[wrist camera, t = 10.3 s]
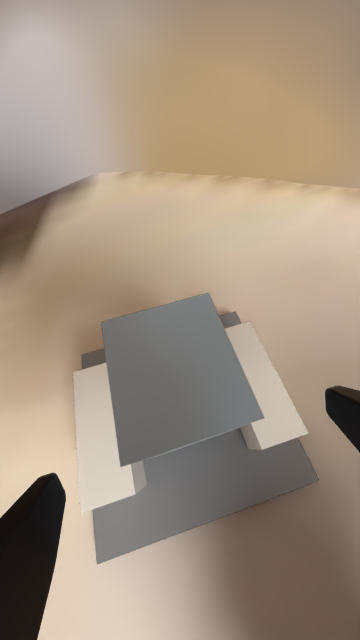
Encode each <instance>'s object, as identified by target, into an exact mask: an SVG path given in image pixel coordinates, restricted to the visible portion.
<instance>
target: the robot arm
mask: <svg viewBox="0 0 360 640" xmlns="http://www.w3.org/2000/svg"><path fill="white" fill-rule="evenodd" d="M325 401H326V411H327V413H328V415H329V417H330V418H331V419H332V420H333V421H334V423H335V424H336V425H337V426H338V427H339V428H340V430H341V431H342V432H343V433H344V434H345V436H346V437H347V438H348V439H349V440H350V441H351V443H352V444H353V445H354V446H355V447H356V448H357V450H358V451H359V452H360V391H358V390H354V389H350V388H346V387H342V386H334V387H331V388H328V389H326V391H325ZM65 502H66V494H65V490H64V488H63V486H62V484H61V482H60V480H59V478H58V476H57V474H55V473H50V474H46V475H43V476H41V477H39V478H38V479H37V480H36V481H35V482H34V483H33V484H32V485H31V486H30V487H29V488H28V489H27V490H26V491H25V493H24V494H23V495H22V496H21V497H20V498H19V499H18V500H17V501H16V502H15V503H14V504H13V505H12V506H11V507H10V508H9V509H8V511H7V512H6V513H5V514H4V515H3V516H2V517H1V518H0V640H37V638H38V634H39V630H40V626H41V622H42V618H43V614H44V609H45V605H46V601H47V597H48V593H49V589H50V585H51V581H52V577H53V572H54V568H55V562H56V557H57V551H58V545H59V539H60V533H61V526H62V520H63V514H64V508H65Z"/></svg>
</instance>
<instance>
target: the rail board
mask: <svg viewBox="0 0 360 640" xmlns="http://www.w3.org/2000/svg"><path fill="white" fill-rule="evenodd" d="M219 317H220V319H221V322H222V324H223V326H224V328H225V331H226V333H227V335H228V337H229V339H230V342H231V344H232V346H233V348H234V351H235V353H236V355H237V357H238V359H239V362H240V364H241V366H242V368H243V371H244V373H245V375H246V377H247V380H248V382H249V384H250V386H251V388H252V391H253V393H254V395H255V397H256V400H257V402H258V404H259V406H260V408H261V411H262V413H263V415H264V417H265V418H264V419H261V420H258V421H256V422H253V423H250V424H248V425H245V426H243V427H240V428H237V429H235V430H232V431H230V432H227V433H224V434H222V435H219V436H216V437H213V438H210V439H207V440H204V441H201V442H198V443H195V444H192V445H189V446H187V447H184V448H181V449H178V450H175V451H172V452H169V453H166V454H163V455H160V456H156V457H153V458H150V459H146V460H143V461H140V462H136V463H133V464H130V465H126V466H123V467H120V460H119V453H118V445H117V438H116V431H115V423H114V416H113V408H112V401H111V393H110V386H109V378H108V371H107V364H106V356H105V349H101V350H97V351H94V352H90V353H86V354H83V355H81V356H82V370H79V371H76V372H73V382H74V402H75V421H76V441H77V460H78V480H79V499H80V514H81V513H84V512H87V511H90V510H93V519H94V532H95V546H96V560H97V564H100V563H102V562H105V561H107V560H110V559H113V558H115V557H118V556H121V555H123V554H126V553H129V552H131V551H134V550H137V549H139V548H142V547H145V546H147V545H150V544H152V543H155V542H158V541H160V540H163V539H166V538H168V537H171V536H174V535H176V534H179V533H182V532H184V531H187V530H190V529H192V528H195V527H198V526H200V525H203V524H205V523H208V522H211V521H213V520H216V519H219V518H221V517H224V516H227V515H229V514H232V513H235V512H237V511H240V510H243V509H245V508H248V507H250V506H253V505H256V504H258V503H261V502H264V501H266V500H269V499H272V498H274V497H277V496H280V495H282V494H285V493H288V492H290V491H293V490H296V489H298V488H301V487H303V486H306V485H309V484H311V483H314V482H317V481H319V479H318V477H317V475H316V473H315V471H314V469H313V467H312V465H311V463H310V461H309V459H308V457H307V455H306V453H305V451H304V449H303V447H302V445H301V443H300V441H299V439H298V437H300V436H303V435H306V434H309V433H308V431H307V429H306V427H305V425H304V424H303V422H302V420H301V418H300V416H299V414H298V412H297V410H296V408H295V406H294V404H293V402H292V401H291V399H290V397H289V395H288V393H287V391H286V389H285V387H284V385H283V383H282V381H281V379H280V377H279V376H278V374H277V372H276V370H275V368H274V366H273V364H272V362H271V360H270V358H269V356H268V354H267V352H266V351H265V349H264V347H263V345H262V343H261V341H260V339H259V337H258V335H257V333H256V331H255V329H254V328H253V326H252V324H251V322H246V323H243V324H241V321H240V319H239V317H238V315H237V313H236V312H233V313H229V314H225V315H222V316H219Z"/></svg>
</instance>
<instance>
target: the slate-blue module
mask: <svg viewBox="0 0 360 640" xmlns="http://www.w3.org/2000/svg"><path fill="white" fill-rule="evenodd" d="M101 326H102V334H103V341H104V349H105V356H106V364H107V371H108V378H109V386H110V393H111V401H112V408H113V416H114V423H115V431H116V438H117V445H118V453H119V460H120V467H123V466H126V465H130V464H133V463H136V462H140V461H143V460H146V459H150V458H153V457H156V456H160V455H163V454H166V453H169V452H172V451H175V450H178V449H181V448H184V447H187V446H189V445H192V444H195V443H198V442H201V441H204V440H207V439H210V438H213V437H216V436H219V435H222V434H224V433H227V432H230V431H232V430H235V429H237V428H240V427H243V426H245V425H248V424H250V423H253V422H256V421H258V420H261V419H264V418H265V417H264V415H263V413H262V411H261V408H260V406H259V404H258V402H257V400H256V397H255V395H254V393H253V391H252V388H251V386H250V384H249V382H248V380H247V377H246V375H245V373H244V371H243V368H242V366H241V364H240V362H239V359H238V357H237V355H236V353H235V351H234V348H233V346H232V344H231V342H230V339H229V337H228V335H227V333H226V331H225V328H224V326H223V324H222V322H221V319H220V317H219V315H218V313H217V310H216V308H215V306H214V304H213V302H212V299H211V297H210V295H209V293H206V294H202V295H199V296H195V297H191V298H187V299H184V300H180V301H176V302H173V303H169V304H165V305H162V306H158V307H154V308H151V309H147V310H143V311H139V312H136V313H132V314H128V315H125V316H121V317H117V318H114V319H110V320H106V321H103V322H101Z"/></svg>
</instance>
